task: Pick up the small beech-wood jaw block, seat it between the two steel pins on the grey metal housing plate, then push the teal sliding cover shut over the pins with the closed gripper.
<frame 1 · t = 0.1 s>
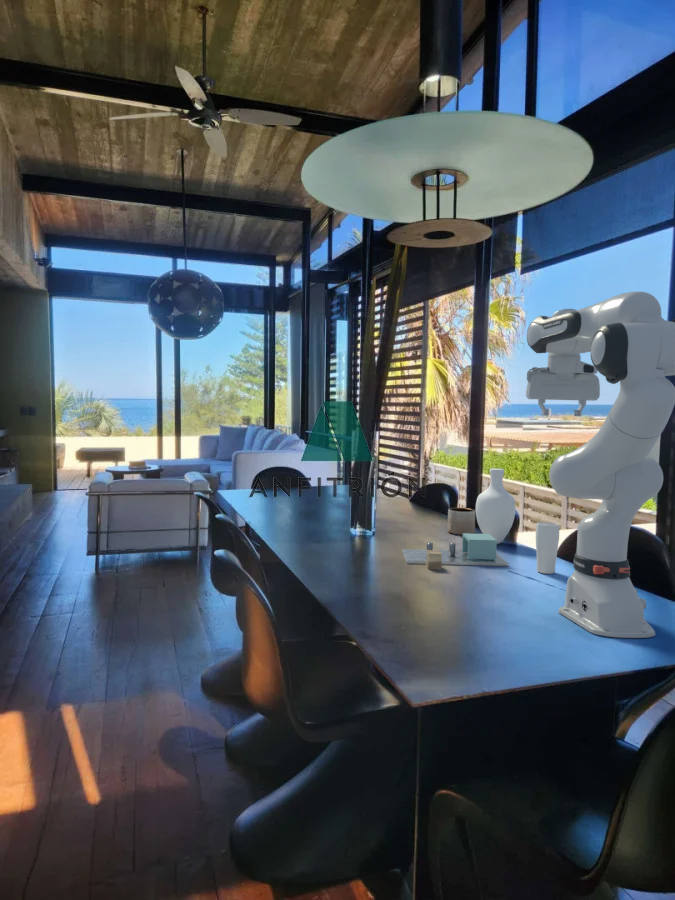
hand: (561, 415, 170), 48 cm above the table, fingers open, 8 cm apart
cover: (478, 546, 194), point 4 cm above the table, slide at 10.0 cm
planter: (460, 533, 238), on the table
vase: (494, 543, 220), on the table
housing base: (446, 558, 194), on the table
jaw block: (433, 567, 182), on the table
drinking glass: (545, 572, 180), on the table
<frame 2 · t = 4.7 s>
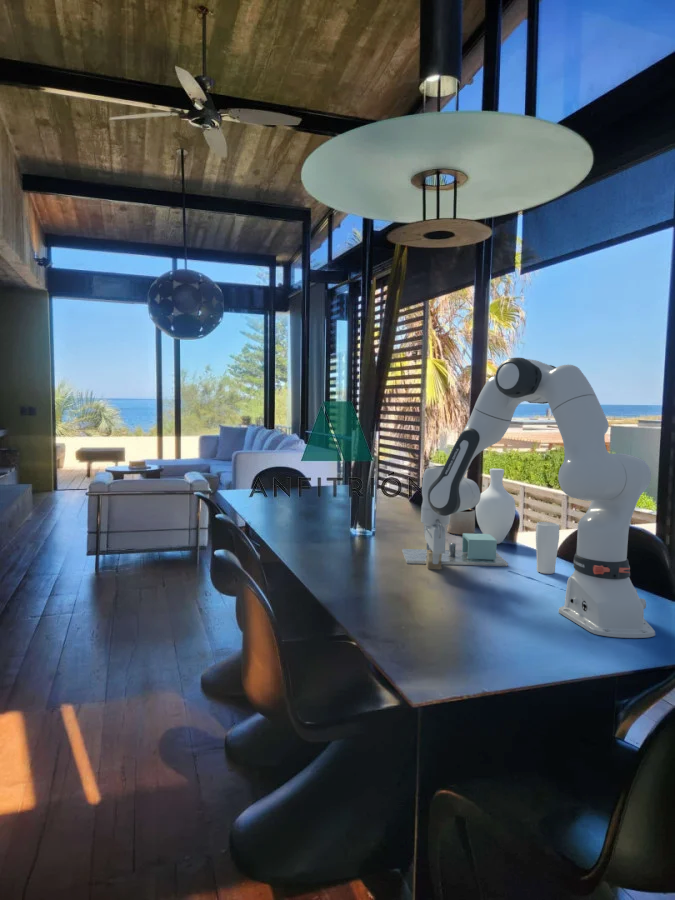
hand: (433, 561, 182), 2 cm above the table, fingers closed on jaw block, 4 cm apart
jaw block: (433, 567, 182), on the table, touching gripper
everything else where it was.
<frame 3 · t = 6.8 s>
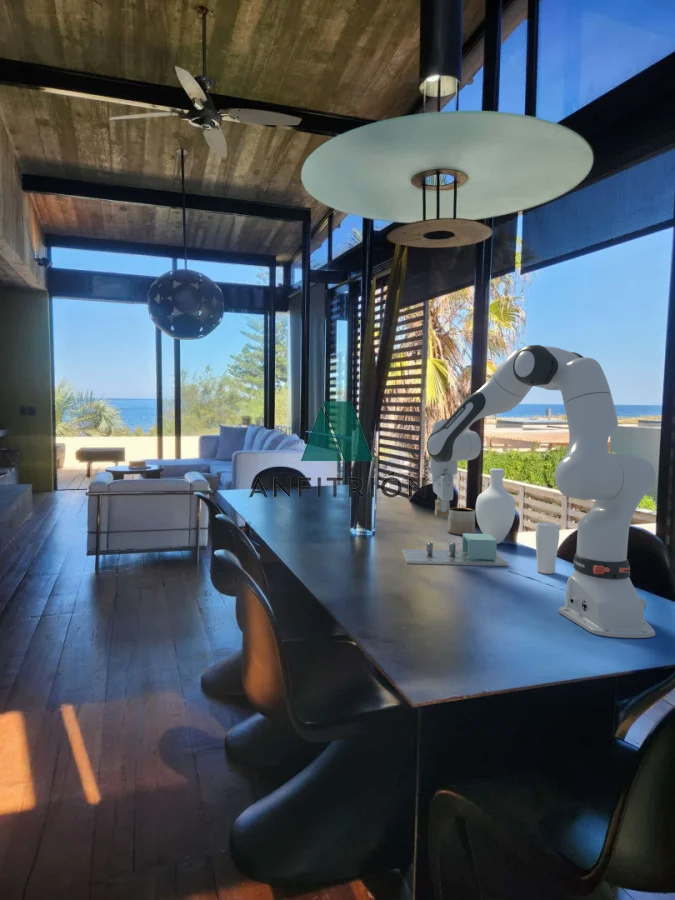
hand: (442, 510, 193), 16 cm above the table, fingers closed on jaw block, 4 cm apart
jaw block: (441, 515, 193), point 14 cm above the table, touching gripper
everything else where it was.
when the fingers open (4 cm above the table, at t = 9.3 s): jaw block drops 1 cm, resting on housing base.
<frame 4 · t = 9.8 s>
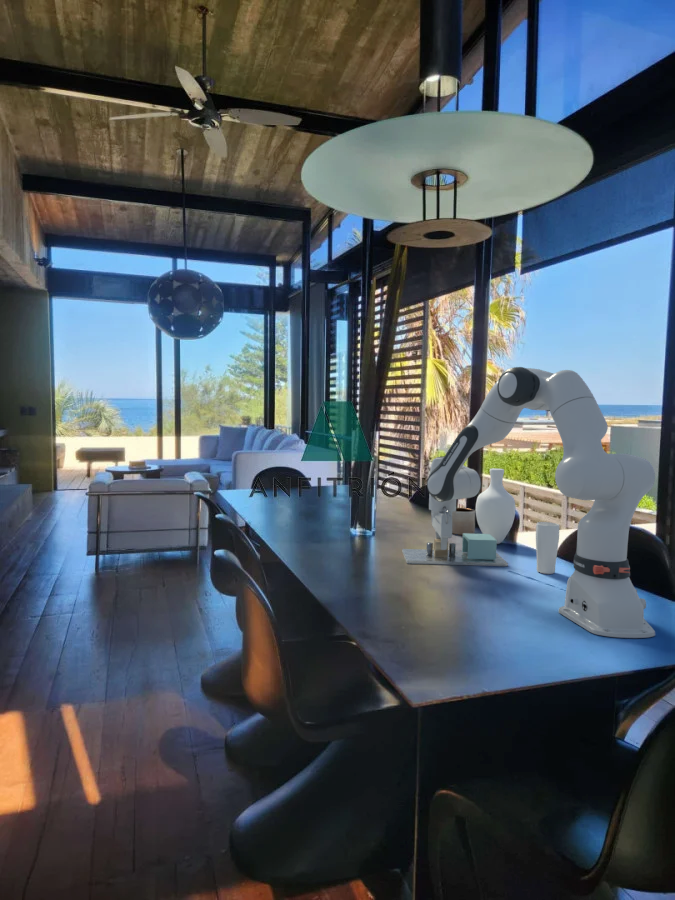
hand: (441, 546, 194), 4 cm above the table, fingers open, 8 cm apart
jaw block: (440, 555, 194), point 1 cm above the table, touching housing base
everything else where it was.
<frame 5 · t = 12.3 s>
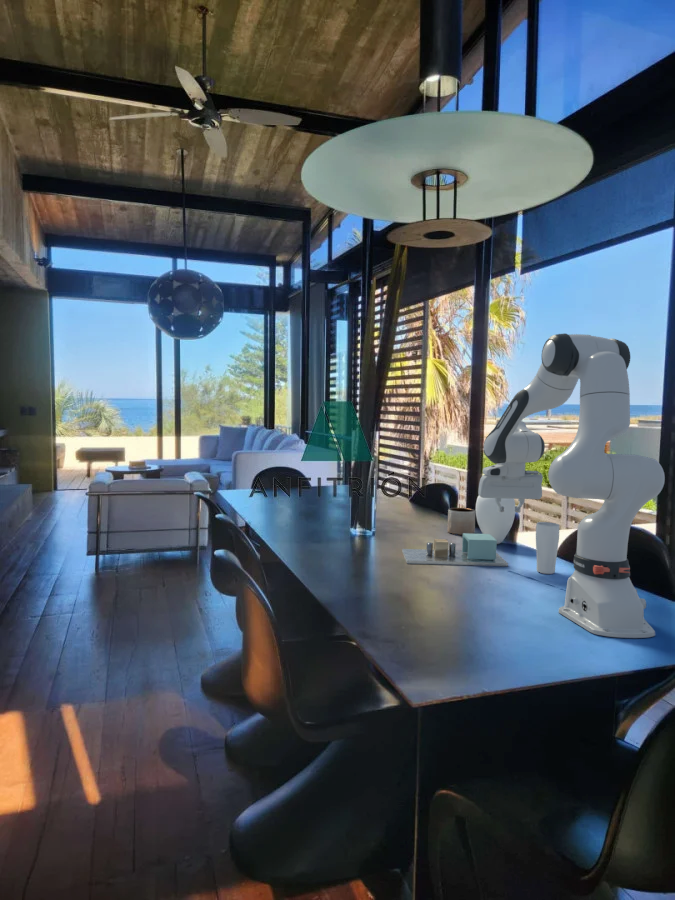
hand: (509, 512, 193), 16 cm above the table, fingers open, 4 cm apart
nothing on the table moved.
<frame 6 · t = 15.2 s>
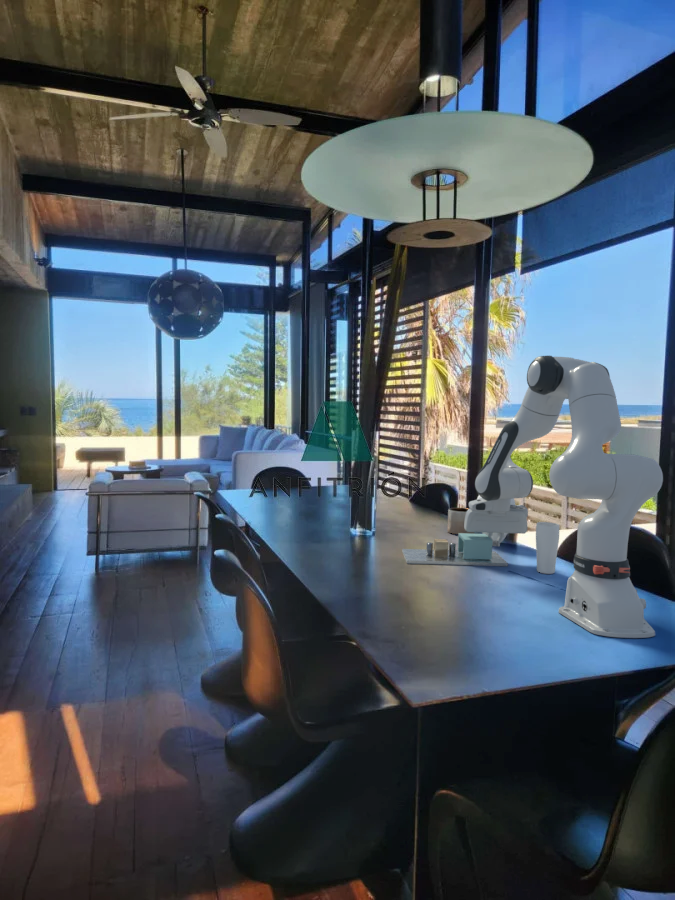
hand: (494, 545, 194), 5 cm above the table, fingers closed
cover: (474, 546, 194), point 4 cm above the table, slide at 8.6 cm, touching gripper
everything else where it was.
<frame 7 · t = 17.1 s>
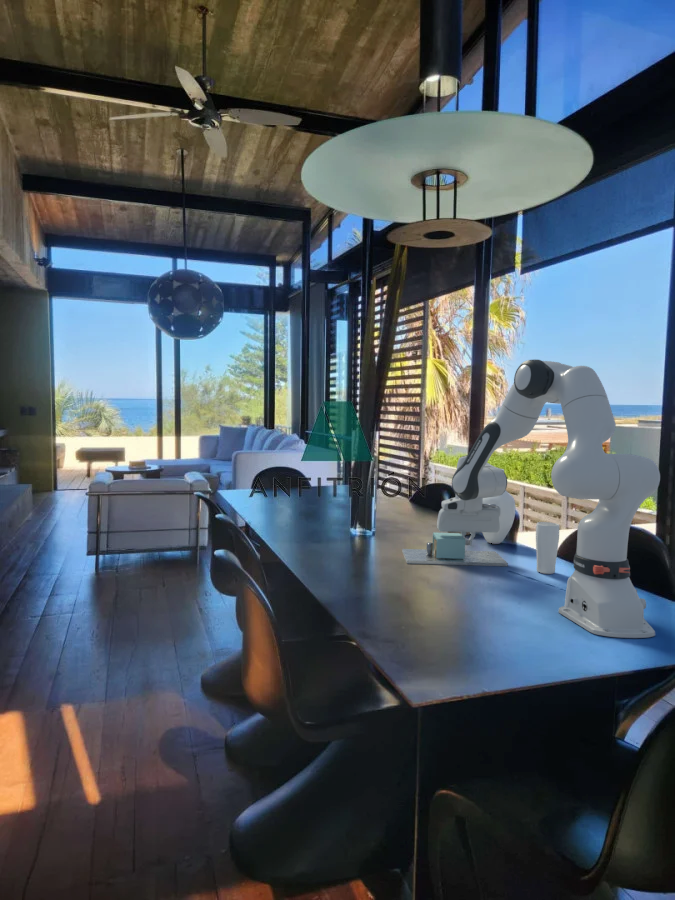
hand: (467, 545, 194), 5 cm above the table, fingers closed
cover: (448, 545, 194), point 4 cm above the table, slide at -0.1 cm, touching gripper
everything else where it was.
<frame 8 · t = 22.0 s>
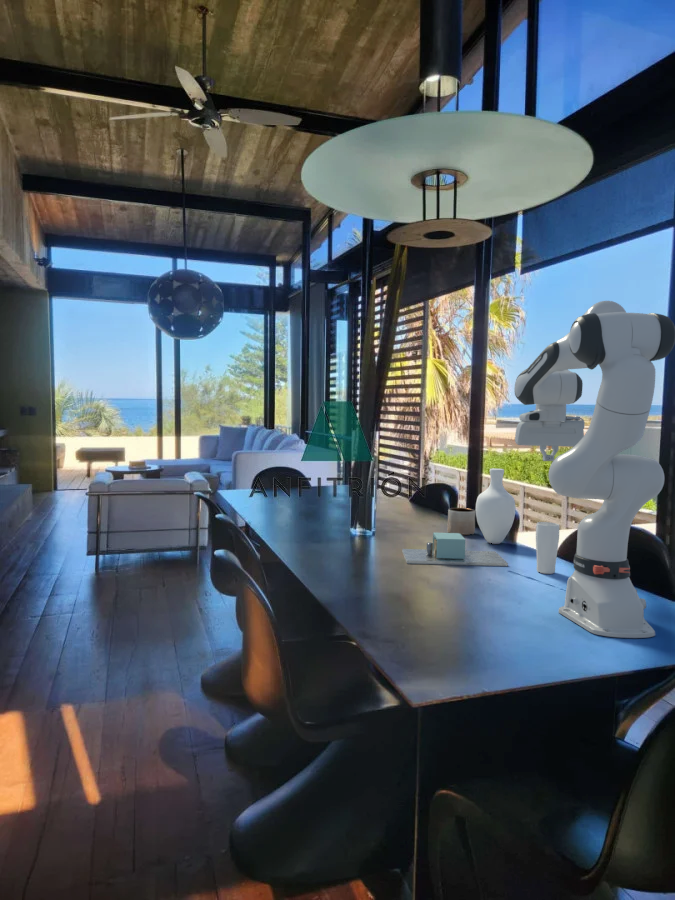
hand: (548, 460, 180), 34 cm above the table, fingers closed
cover: (448, 545, 194), point 4 cm above the table, slide at 0.0 cm
everything else where it was.
at the end: jaw block 0.1 cm from the target spot on the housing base, point 1.0 cm above the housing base's base; jaw block tilted 0°; cover slide at 0.0 cm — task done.
